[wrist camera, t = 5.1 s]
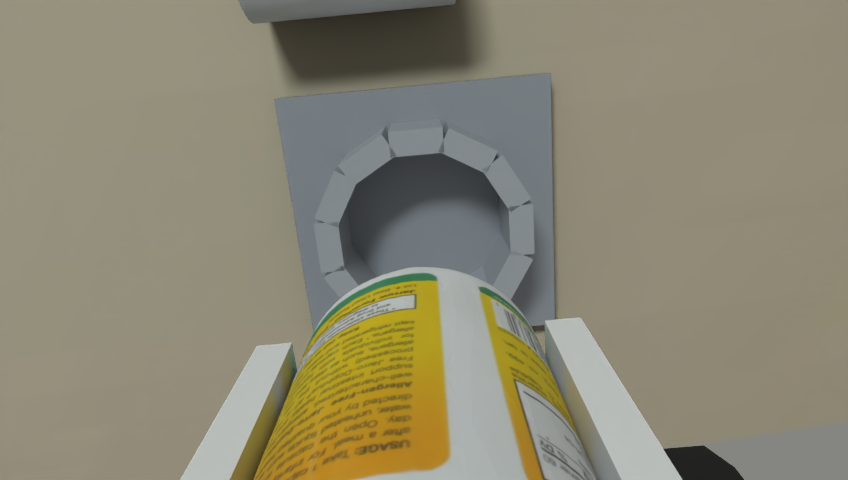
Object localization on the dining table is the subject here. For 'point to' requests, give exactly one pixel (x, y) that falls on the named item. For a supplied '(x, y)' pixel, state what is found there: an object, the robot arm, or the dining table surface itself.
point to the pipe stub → (325, 8)
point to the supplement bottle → (424, 390)
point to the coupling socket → (424, 186)
